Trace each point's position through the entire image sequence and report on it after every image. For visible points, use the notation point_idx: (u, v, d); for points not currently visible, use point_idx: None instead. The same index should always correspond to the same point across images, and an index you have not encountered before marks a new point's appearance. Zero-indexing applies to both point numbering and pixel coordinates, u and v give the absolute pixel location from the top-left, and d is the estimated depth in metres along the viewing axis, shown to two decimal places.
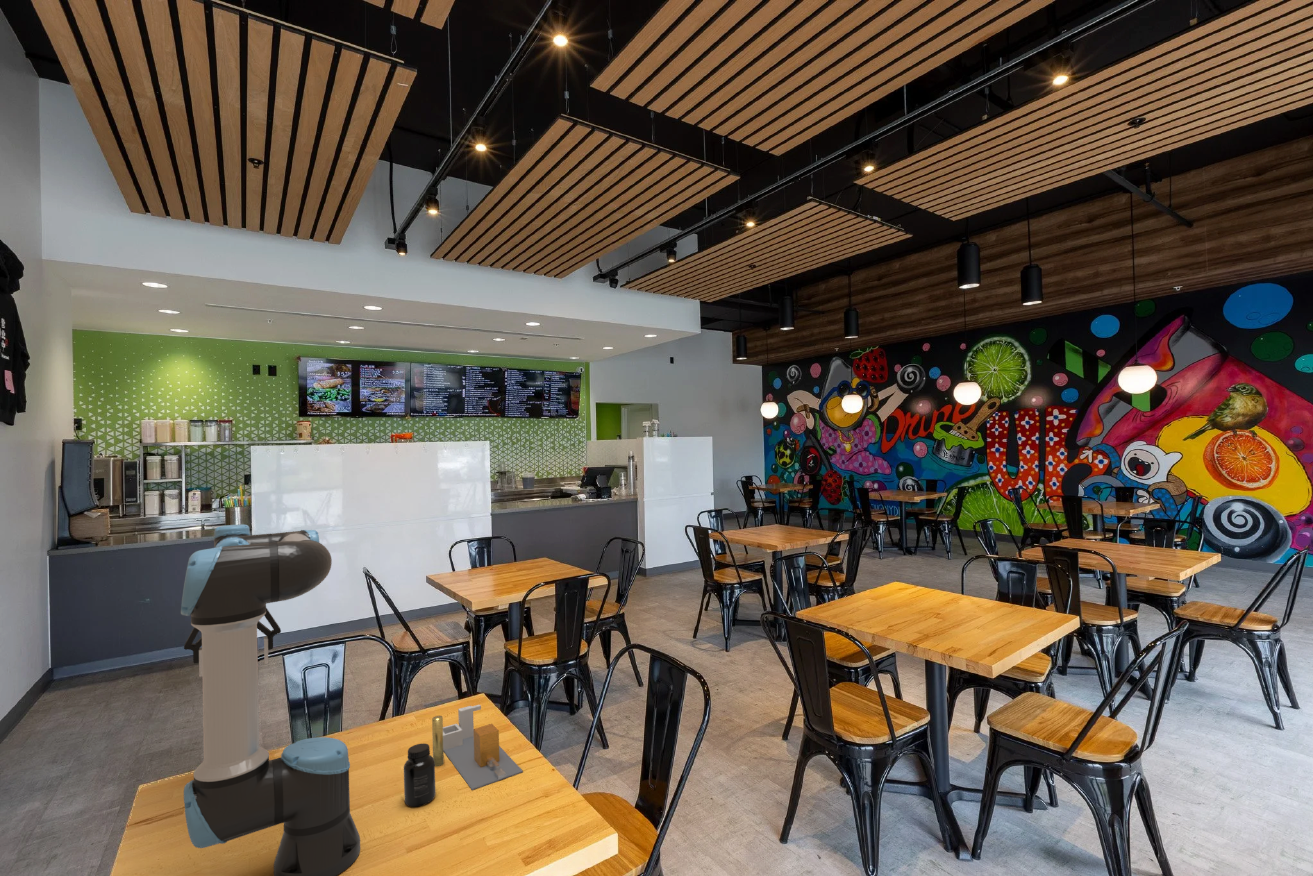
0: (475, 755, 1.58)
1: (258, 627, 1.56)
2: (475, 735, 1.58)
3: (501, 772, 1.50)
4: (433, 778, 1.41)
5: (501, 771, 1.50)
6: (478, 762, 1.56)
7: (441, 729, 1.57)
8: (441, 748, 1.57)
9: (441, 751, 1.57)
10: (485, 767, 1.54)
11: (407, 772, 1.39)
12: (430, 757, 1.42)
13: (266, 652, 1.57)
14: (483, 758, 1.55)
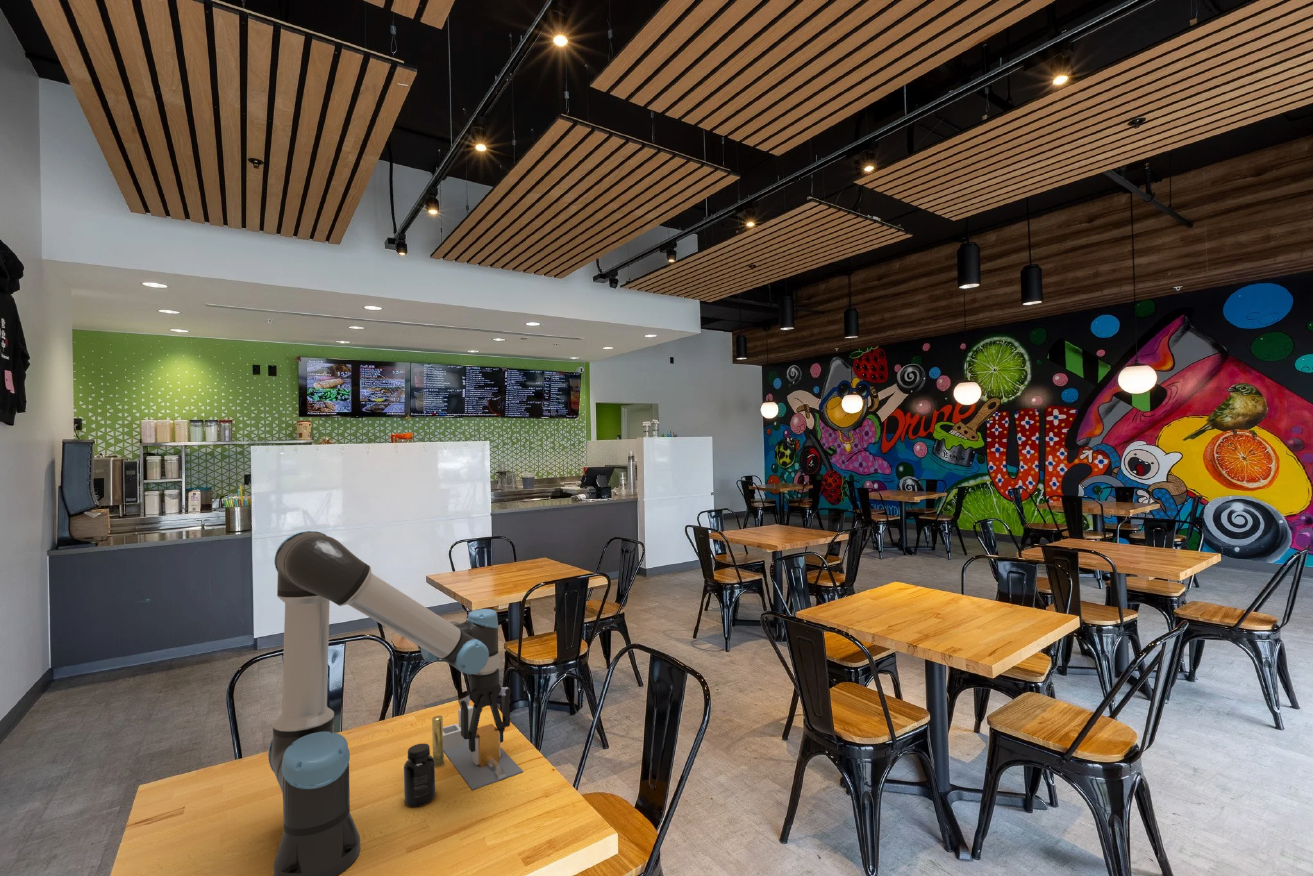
0: None
1: (497, 717, 1.59)
2: None
3: (501, 772, 1.50)
4: (433, 778, 1.41)
5: (501, 771, 1.50)
6: None
7: (441, 729, 1.57)
8: (441, 748, 1.57)
9: (441, 751, 1.57)
10: (485, 767, 1.54)
11: (407, 772, 1.39)
12: (430, 757, 1.42)
13: None
14: (483, 758, 1.55)
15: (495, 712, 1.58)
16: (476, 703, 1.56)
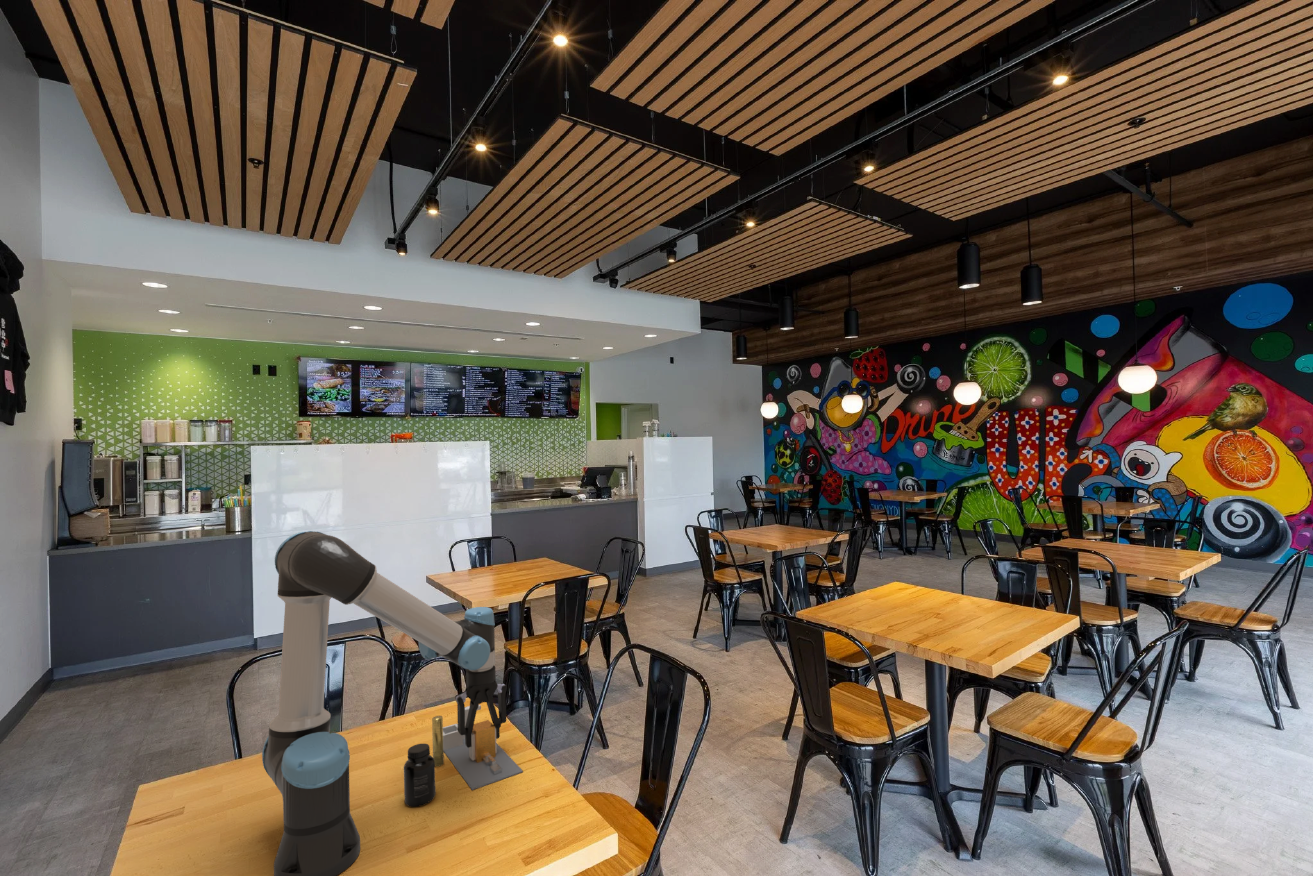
0: None
1: (493, 713, 1.61)
2: None
3: (497, 768, 1.52)
4: (433, 778, 1.41)
5: (497, 766, 1.53)
6: None
7: (441, 729, 1.57)
8: (441, 748, 1.57)
9: (441, 751, 1.57)
10: (485, 767, 1.54)
11: (407, 772, 1.39)
12: (430, 757, 1.42)
13: (495, 742, 1.61)
14: (480, 754, 1.57)
15: (491, 708, 1.61)
16: (472, 699, 1.58)
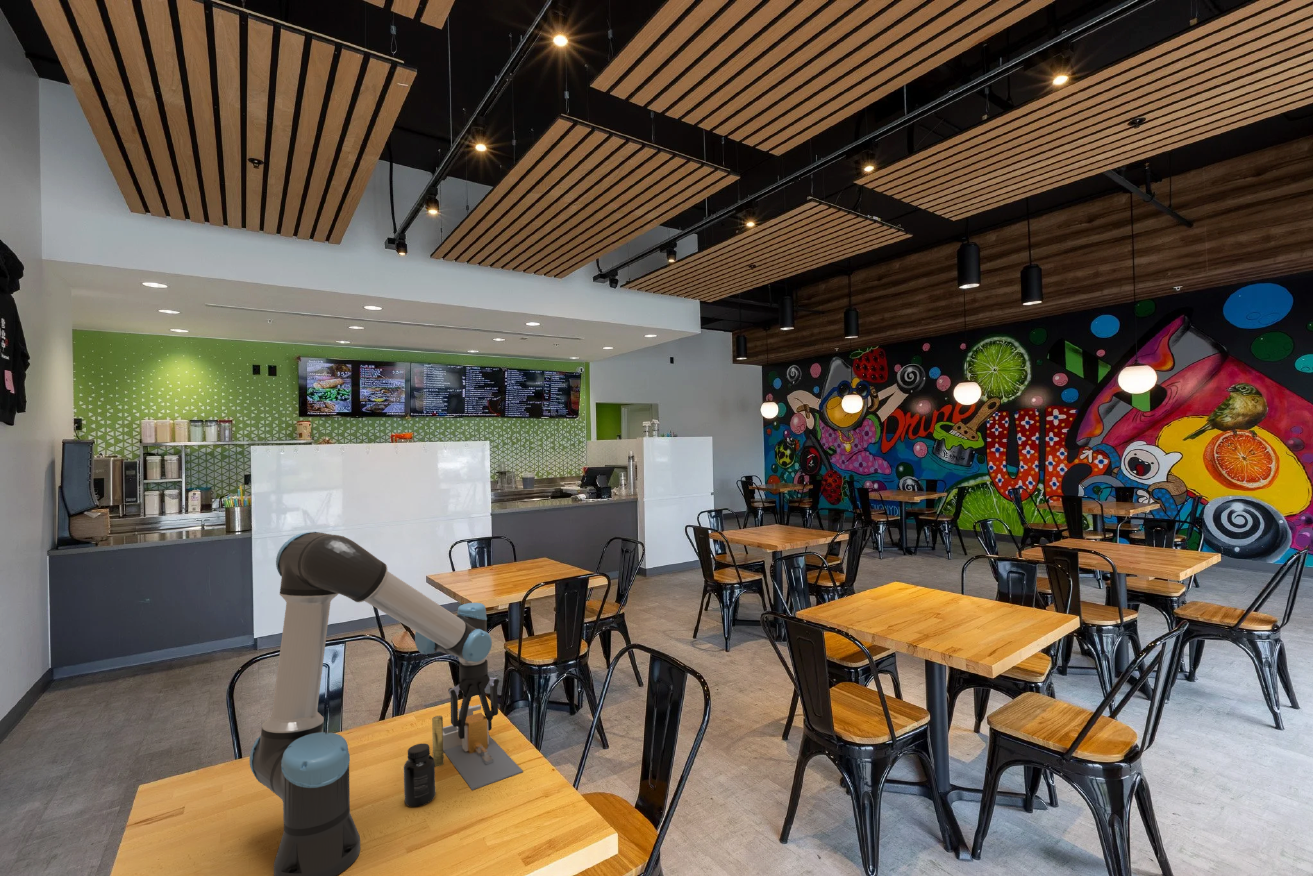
0: None
1: (485, 706, 1.66)
2: None
3: (489, 758, 1.57)
4: (433, 778, 1.41)
5: (489, 757, 1.58)
6: None
7: (441, 729, 1.57)
8: (441, 748, 1.57)
9: (441, 751, 1.57)
10: (485, 767, 1.54)
11: (407, 772, 1.39)
12: (430, 757, 1.42)
13: (487, 733, 1.66)
14: (472, 745, 1.62)
15: (484, 701, 1.66)
16: (465, 692, 1.63)
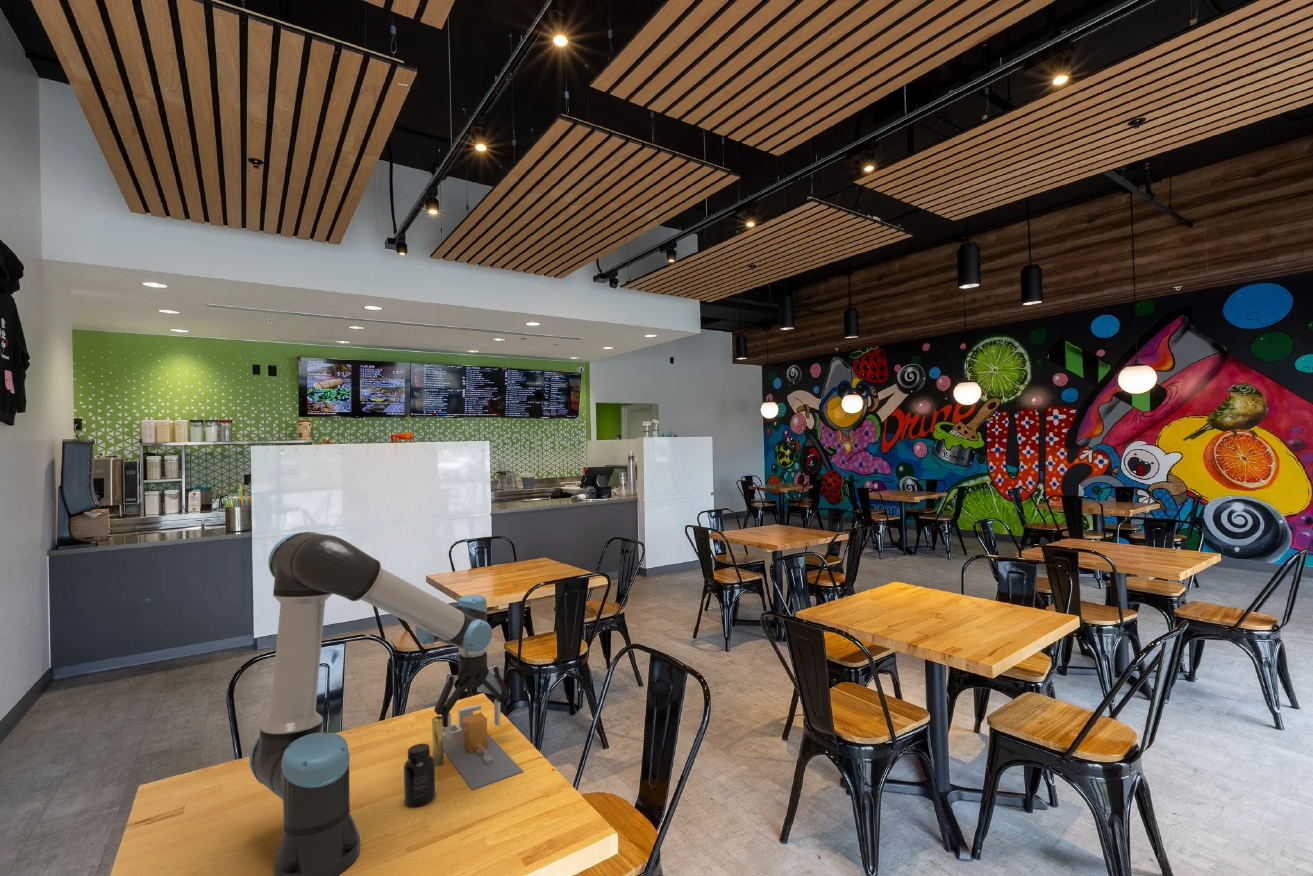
0: (464, 742, 1.65)
1: (493, 692, 1.67)
2: (464, 723, 1.65)
3: (489, 758, 1.57)
4: (433, 778, 1.41)
5: (489, 757, 1.58)
6: (467, 749, 1.63)
7: (441, 730, 1.57)
8: (441, 748, 1.57)
9: (441, 751, 1.57)
10: (485, 767, 1.54)
11: (407, 772, 1.39)
12: (430, 757, 1.42)
13: (499, 715, 1.68)
14: (472, 745, 1.62)
15: (489, 689, 1.67)
16: None
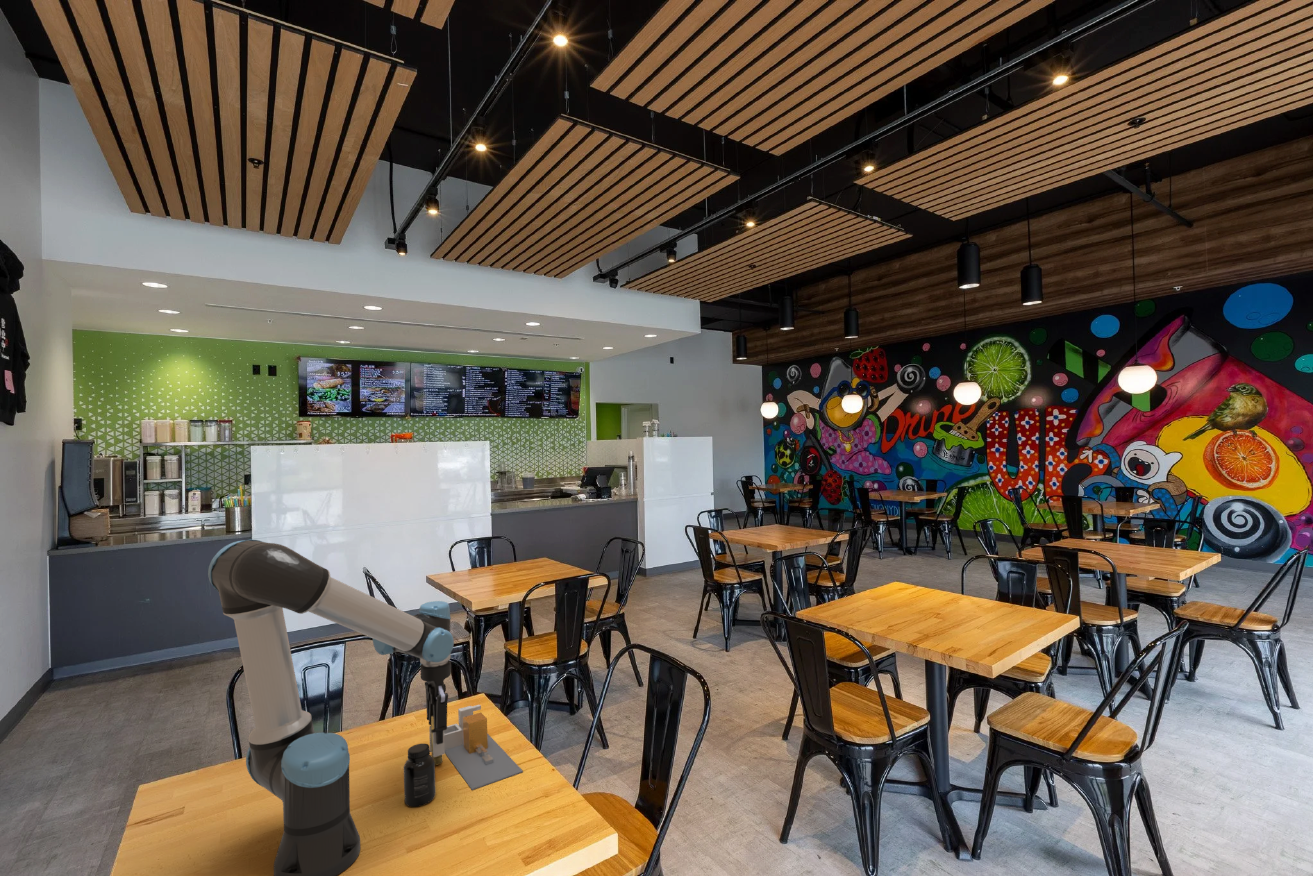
0: (464, 742, 1.65)
1: (433, 714, 1.55)
2: (464, 723, 1.65)
3: (489, 758, 1.57)
4: (433, 778, 1.41)
5: (489, 757, 1.58)
6: (467, 749, 1.63)
7: None
8: None
9: None
10: (485, 767, 1.54)
11: (407, 772, 1.39)
12: (430, 757, 1.42)
13: (433, 745, 1.55)
14: (472, 745, 1.62)
15: (433, 709, 1.56)
16: None
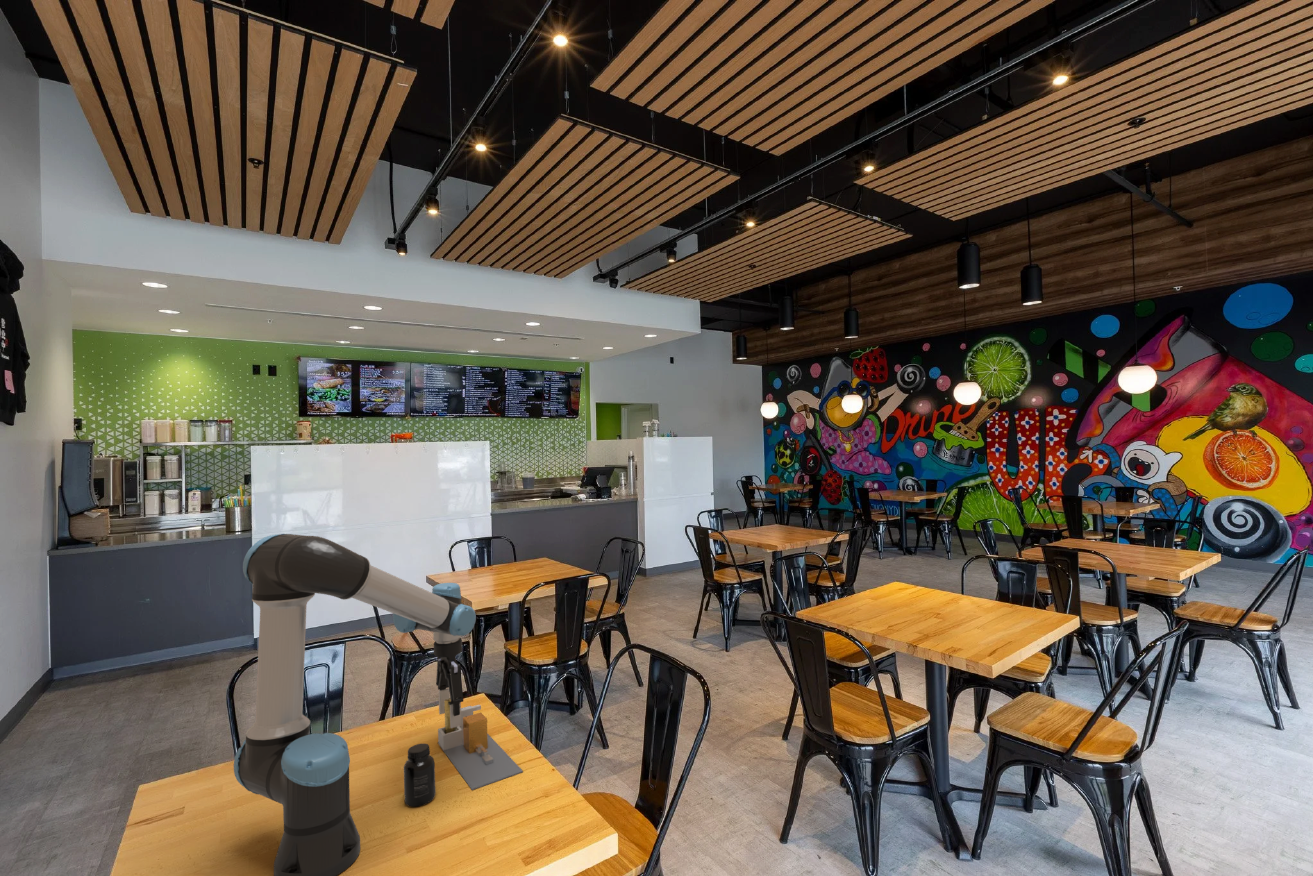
0: (464, 742, 1.65)
1: (449, 688, 1.64)
2: (464, 723, 1.65)
3: (489, 758, 1.57)
4: (433, 778, 1.41)
5: (489, 757, 1.58)
6: (467, 749, 1.63)
7: None
8: (453, 728, 1.67)
9: (453, 731, 1.67)
10: (485, 767, 1.54)
11: (407, 772, 1.39)
12: (430, 757, 1.42)
13: (450, 716, 1.63)
14: (472, 745, 1.62)
15: (448, 683, 1.64)
16: None
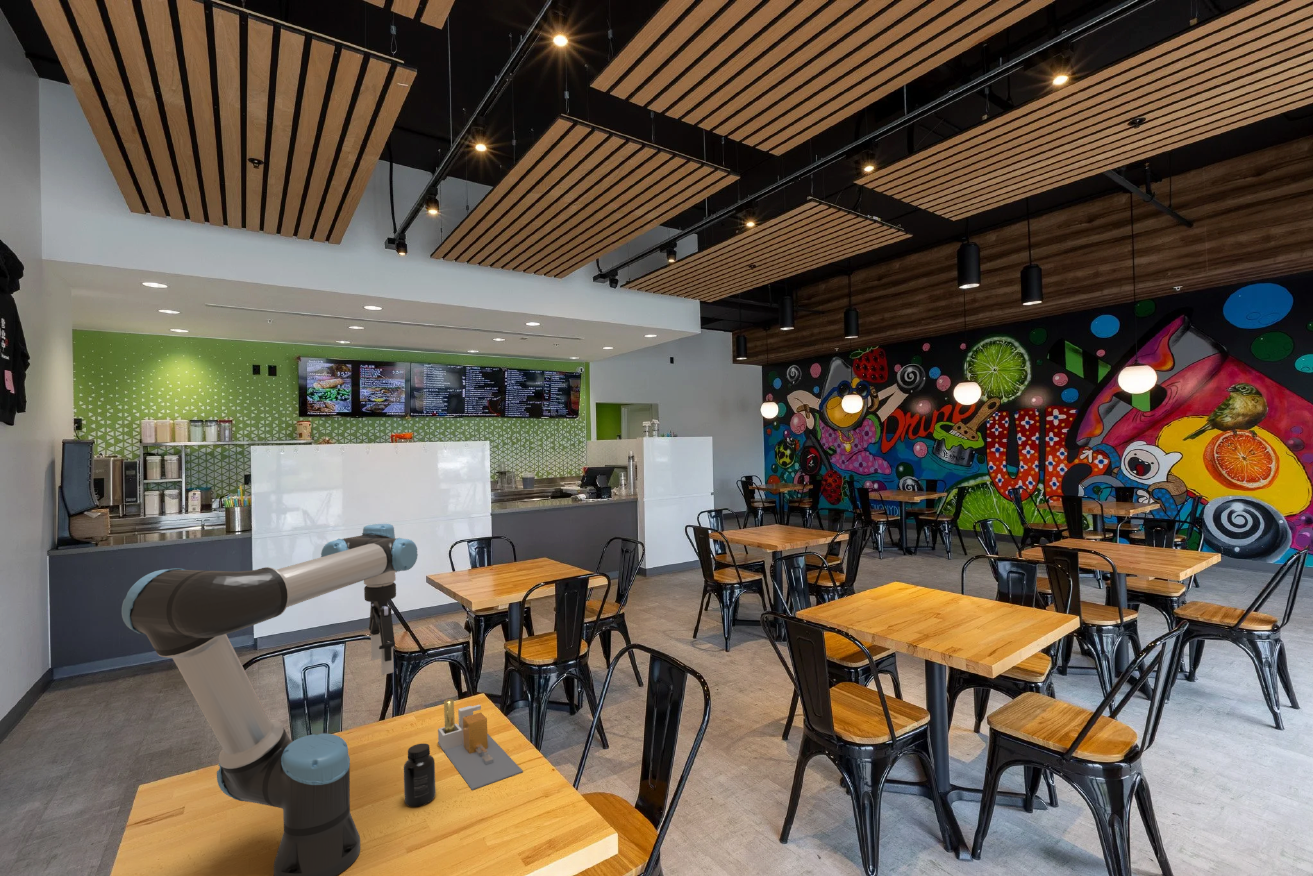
0: (464, 742, 1.65)
1: (380, 633, 1.51)
2: (464, 723, 1.65)
3: (489, 758, 1.57)
4: (433, 778, 1.41)
5: (489, 757, 1.58)
6: (467, 749, 1.63)
7: (452, 711, 1.67)
8: (453, 729, 1.67)
9: None
10: (485, 767, 1.54)
11: (407, 772, 1.39)
12: (430, 757, 1.42)
13: (381, 662, 1.50)
14: (472, 745, 1.62)
15: (379, 628, 1.52)
16: None
